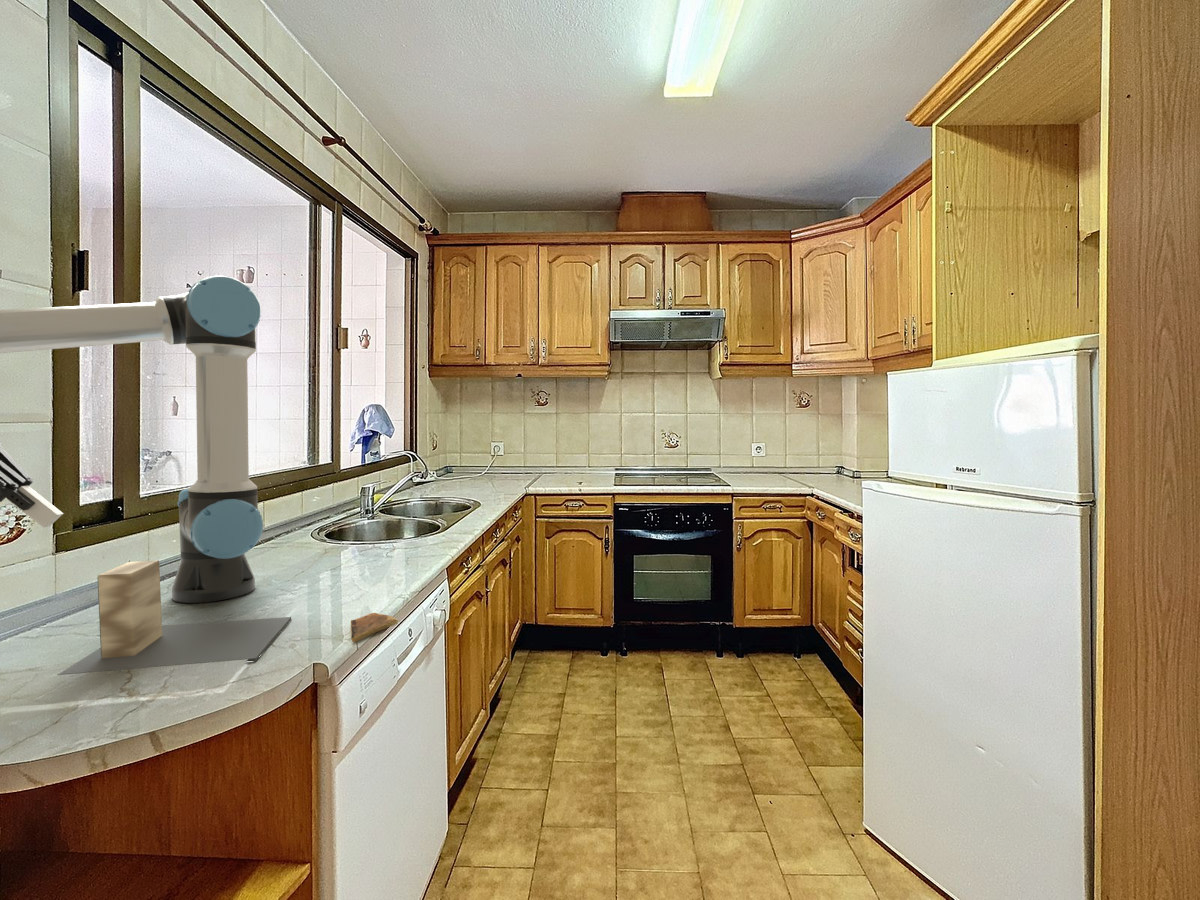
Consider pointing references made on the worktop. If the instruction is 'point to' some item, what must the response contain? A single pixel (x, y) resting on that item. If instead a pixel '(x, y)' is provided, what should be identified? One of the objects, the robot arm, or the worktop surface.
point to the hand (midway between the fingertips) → (53, 520)
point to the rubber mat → (193, 645)
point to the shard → (370, 625)
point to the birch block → (129, 608)
